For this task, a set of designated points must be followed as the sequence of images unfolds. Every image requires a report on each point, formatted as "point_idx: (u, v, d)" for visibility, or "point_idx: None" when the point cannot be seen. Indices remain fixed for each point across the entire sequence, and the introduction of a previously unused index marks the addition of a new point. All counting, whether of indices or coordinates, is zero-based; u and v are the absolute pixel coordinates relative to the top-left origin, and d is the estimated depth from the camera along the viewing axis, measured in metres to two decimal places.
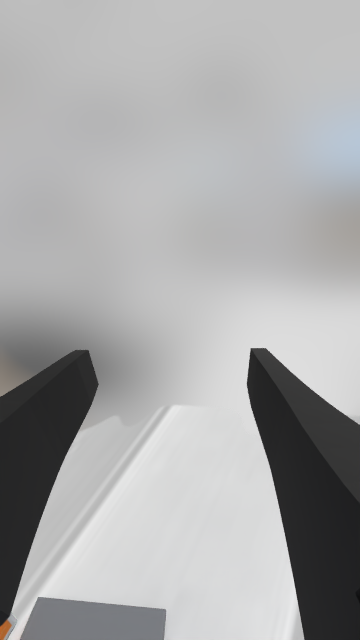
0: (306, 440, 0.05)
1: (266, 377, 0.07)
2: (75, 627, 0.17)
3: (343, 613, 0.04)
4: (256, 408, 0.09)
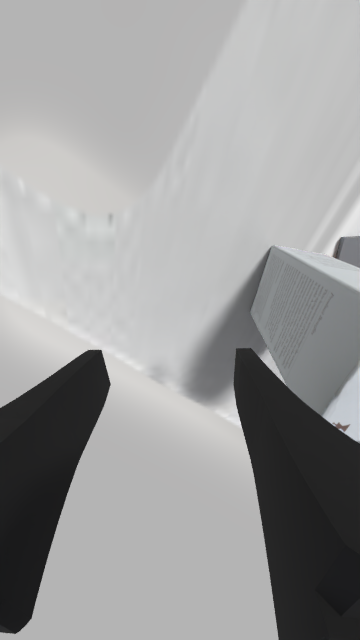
0: (278, 439, 0.05)
1: (248, 377, 0.08)
2: None
3: (306, 610, 0.04)
4: (241, 408, 0.09)
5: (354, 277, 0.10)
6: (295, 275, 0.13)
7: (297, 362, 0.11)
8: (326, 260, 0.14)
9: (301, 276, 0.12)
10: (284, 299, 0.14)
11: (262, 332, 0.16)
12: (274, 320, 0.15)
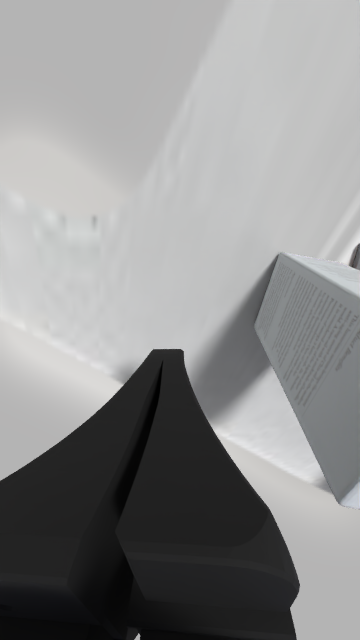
0: None
1: (162, 377, 0.08)
2: None
3: None
4: None
5: None
6: (311, 291, 0.11)
7: (316, 401, 0.09)
8: (346, 272, 0.12)
9: (319, 293, 0.10)
10: (296, 319, 0.11)
11: (268, 352, 0.14)
12: (284, 342, 0.12)
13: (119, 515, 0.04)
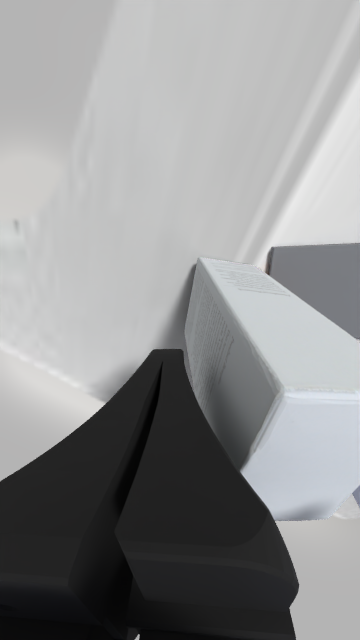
0: None
1: (162, 377, 0.08)
2: (332, 265, 0.15)
3: None
4: None
5: (265, 310, 0.08)
6: (209, 301, 0.11)
7: (209, 414, 0.09)
8: (249, 278, 0.12)
9: (213, 304, 0.10)
10: (203, 327, 0.11)
11: (189, 359, 0.14)
12: (196, 350, 0.12)
13: (120, 515, 0.04)
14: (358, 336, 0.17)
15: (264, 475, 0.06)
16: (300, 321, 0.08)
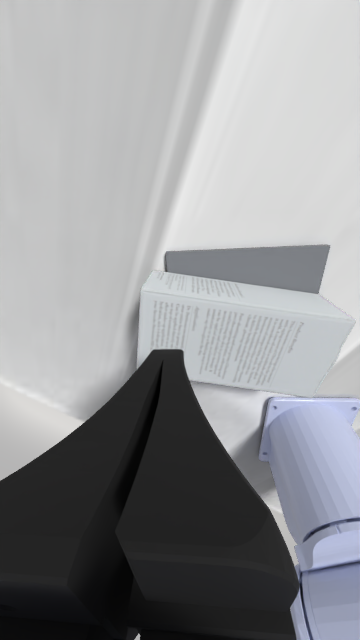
0: None
1: (162, 377, 0.08)
2: (223, 268, 0.15)
3: None
4: None
5: (275, 299, 0.13)
6: (236, 318, 0.12)
7: (279, 373, 0.14)
8: (207, 285, 0.14)
9: (248, 317, 0.12)
10: (227, 341, 0.13)
11: (194, 378, 0.15)
12: (217, 361, 0.14)
13: (119, 515, 0.04)
14: None
15: None
16: (281, 295, 0.14)
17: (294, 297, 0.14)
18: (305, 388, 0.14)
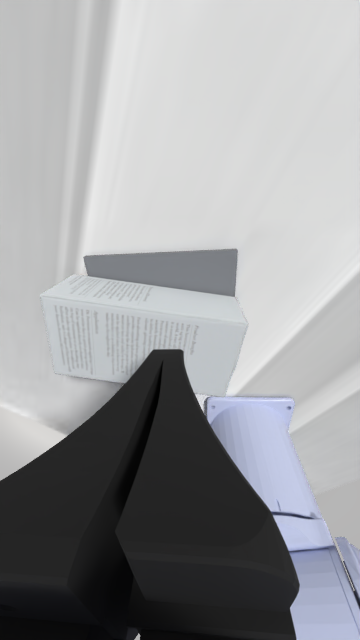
0: None
1: (162, 377, 0.08)
2: (140, 272, 0.16)
3: None
4: None
5: (179, 303, 0.14)
6: (134, 321, 0.13)
7: (187, 374, 0.15)
8: (117, 289, 0.15)
9: (145, 320, 0.13)
10: (131, 343, 0.14)
11: (109, 378, 0.15)
12: (126, 363, 0.14)
13: (119, 515, 0.04)
14: None
15: None
16: (190, 298, 0.15)
17: (202, 300, 0.15)
18: (214, 388, 0.15)
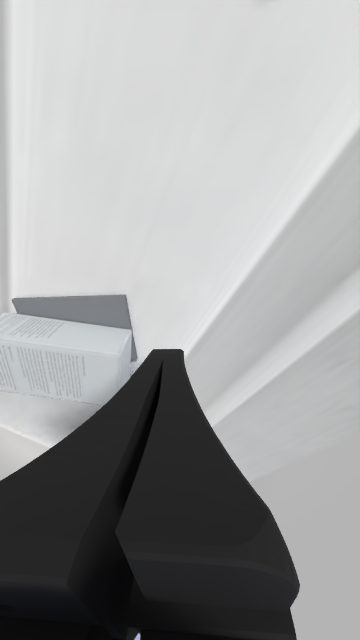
0: None
1: (162, 377, 0.08)
2: (56, 311, 0.21)
3: None
4: None
5: (75, 338, 0.19)
6: (37, 353, 0.18)
7: (85, 390, 0.19)
8: (33, 326, 0.19)
9: (45, 352, 0.18)
10: (39, 368, 0.18)
11: (29, 393, 0.20)
12: (39, 381, 0.19)
13: (119, 515, 0.04)
14: None
15: (121, 378, 0.19)
16: (88, 333, 0.20)
17: (97, 334, 0.19)
18: (108, 400, 0.20)
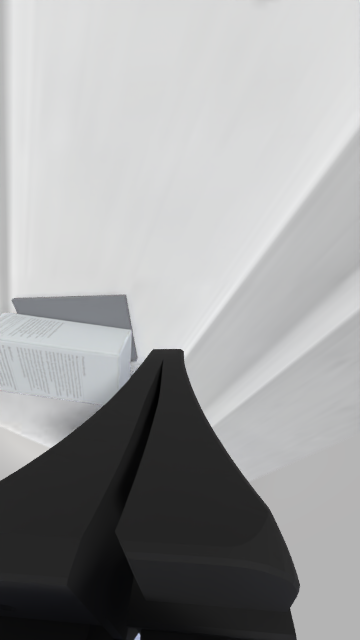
0: None
1: (162, 377, 0.08)
2: (56, 311, 0.21)
3: None
4: None
5: (75, 338, 0.19)
6: (37, 353, 0.18)
7: (85, 390, 0.19)
8: (33, 326, 0.19)
9: (45, 352, 0.18)
10: (39, 368, 0.18)
11: (29, 393, 0.20)
12: (39, 381, 0.19)
13: (119, 515, 0.04)
14: None
15: (121, 378, 0.19)
16: (88, 333, 0.20)
17: (97, 334, 0.19)
18: (108, 400, 0.20)
